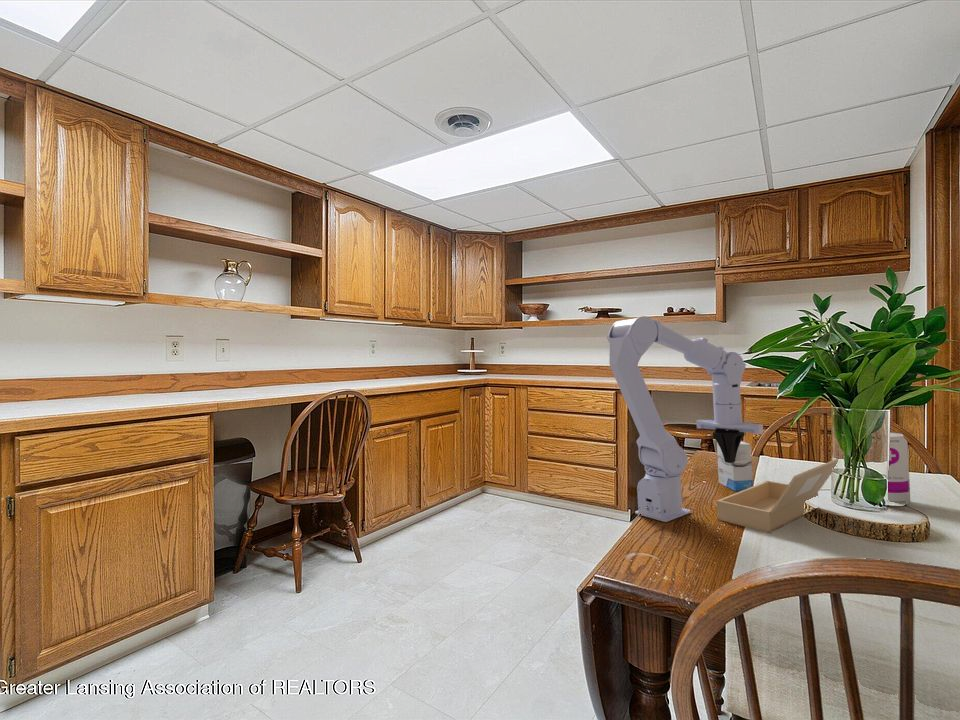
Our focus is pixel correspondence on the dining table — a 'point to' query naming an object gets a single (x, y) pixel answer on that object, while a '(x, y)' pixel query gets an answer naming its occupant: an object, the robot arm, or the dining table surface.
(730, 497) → the carton
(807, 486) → the flap
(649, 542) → the dining table surface
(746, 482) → the ink box
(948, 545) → the dining table surface
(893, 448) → the white can
